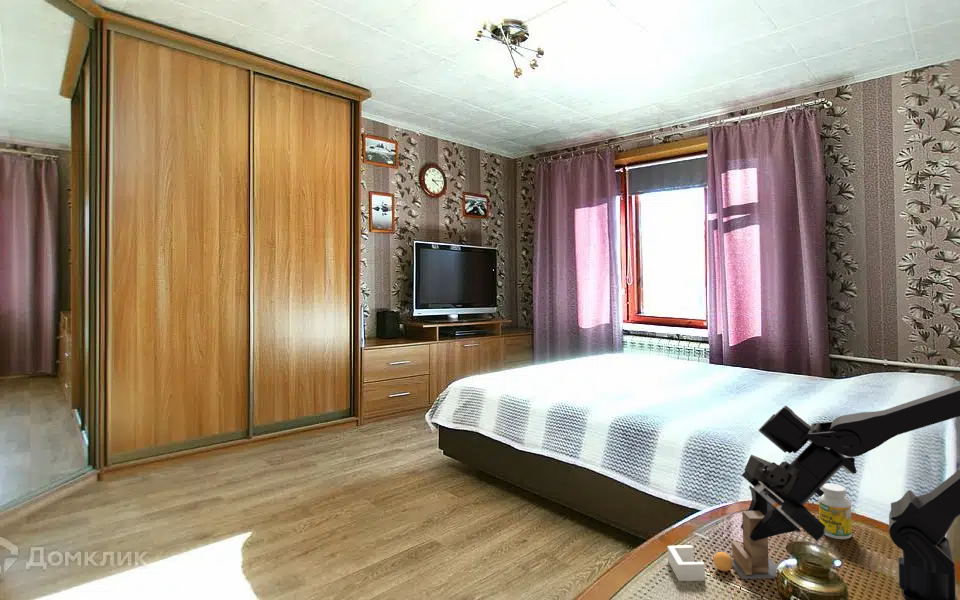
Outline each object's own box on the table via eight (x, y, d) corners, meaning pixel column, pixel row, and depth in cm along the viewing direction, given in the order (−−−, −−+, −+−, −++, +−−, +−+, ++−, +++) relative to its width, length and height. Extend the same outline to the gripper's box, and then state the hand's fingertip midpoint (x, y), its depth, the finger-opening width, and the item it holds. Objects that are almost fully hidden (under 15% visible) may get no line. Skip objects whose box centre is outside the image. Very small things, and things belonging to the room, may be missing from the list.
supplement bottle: (856, 534, 103) (855, 487, 103) (845, 543, 100) (844, 495, 100) (826, 524, 108) (824, 479, 107) (814, 532, 105) (813, 486, 104)
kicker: (757, 557, 96) (755, 507, 95) (772, 574, 90) (770, 521, 90) (732, 557, 96) (730, 507, 96) (746, 574, 90) (744, 522, 90)
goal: (692, 560, 97) (691, 545, 97) (705, 580, 91) (704, 564, 90) (668, 561, 97) (667, 545, 97) (679, 581, 91) (678, 564, 91)
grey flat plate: (769, 560, 96) (769, 558, 96) (785, 578, 90) (785, 575, 90) (728, 561, 96) (728, 559, 96) (741, 578, 91) (741, 576, 91)
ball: (734, 568, 94) (733, 551, 94) (730, 577, 91) (730, 559, 91) (715, 563, 96) (715, 546, 96) (711, 571, 93) (711, 554, 93)
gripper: (750, 427, 101) (695, 483, 102) (803, 460, 83) (735, 529, 84) (793, 465, 101) (737, 521, 102) (856, 507, 82) (787, 575, 84)
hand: (747, 534), depth 93 cm, fingers closed on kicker, 3 cm apart
